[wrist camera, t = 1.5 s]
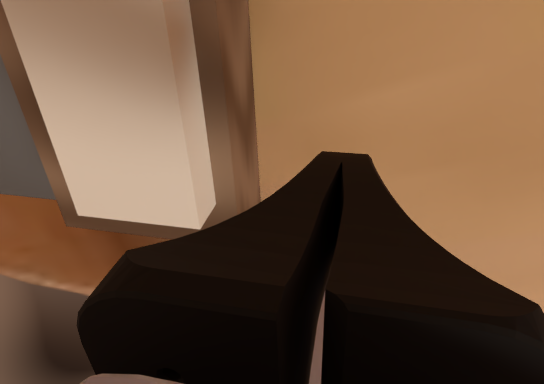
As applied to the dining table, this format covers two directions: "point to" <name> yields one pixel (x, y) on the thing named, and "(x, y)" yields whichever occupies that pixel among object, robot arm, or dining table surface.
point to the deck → (217, 111)
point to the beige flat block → (120, 105)
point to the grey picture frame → (18, 149)
